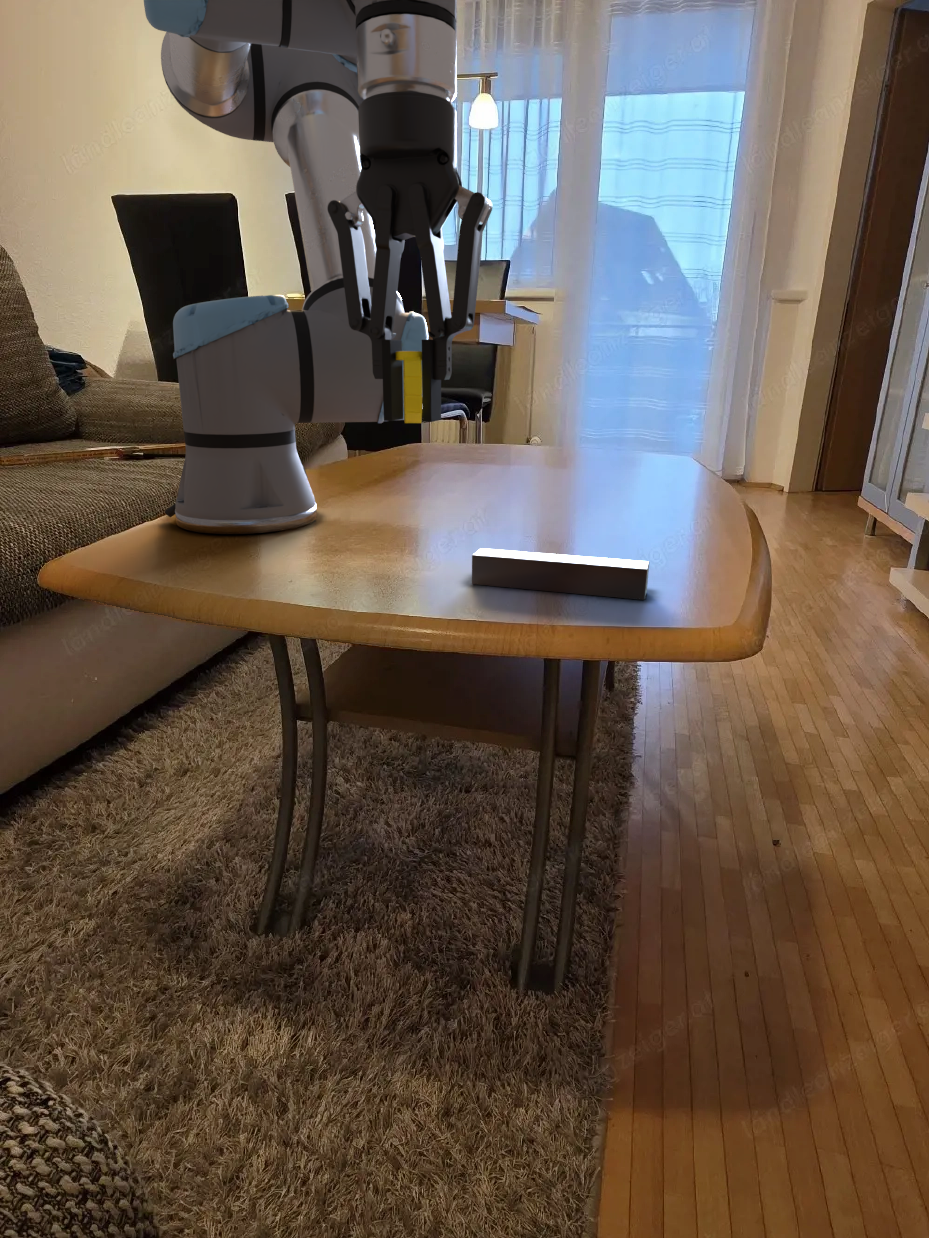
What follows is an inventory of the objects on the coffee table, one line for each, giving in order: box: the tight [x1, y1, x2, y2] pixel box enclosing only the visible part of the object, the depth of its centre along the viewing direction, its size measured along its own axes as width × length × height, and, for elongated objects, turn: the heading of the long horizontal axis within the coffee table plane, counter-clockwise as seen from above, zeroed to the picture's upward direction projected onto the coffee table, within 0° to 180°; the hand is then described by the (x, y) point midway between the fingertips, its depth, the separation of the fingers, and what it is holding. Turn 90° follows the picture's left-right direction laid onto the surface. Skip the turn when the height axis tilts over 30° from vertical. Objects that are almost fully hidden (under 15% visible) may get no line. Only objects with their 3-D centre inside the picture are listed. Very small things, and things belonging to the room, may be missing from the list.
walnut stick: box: [471, 547, 650, 601], centre depth 61 cm, size 14×2×2 cm, turn 73°
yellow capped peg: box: [396, 351, 423, 424], centre depth 64 cm, size 6×3×6 cm, turn 6°
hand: (412, 419), depth 65 cm, fingers closed on yellow capped peg, 3 cm apart
